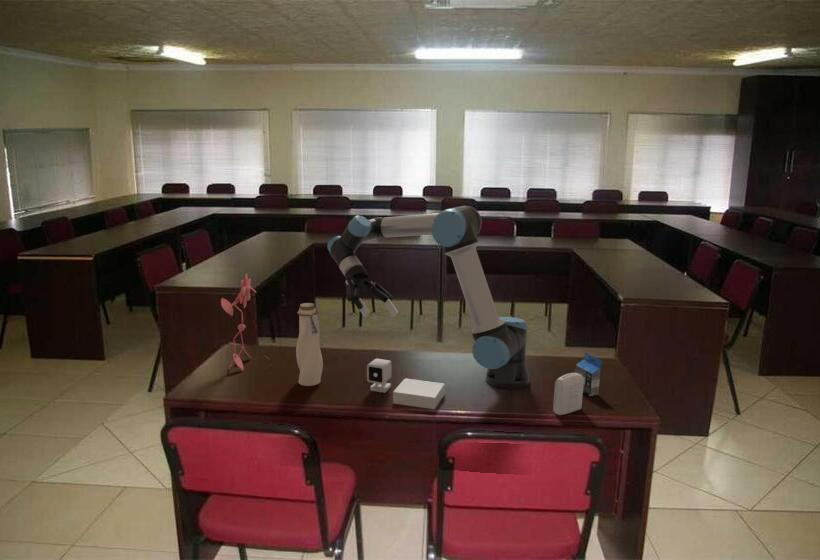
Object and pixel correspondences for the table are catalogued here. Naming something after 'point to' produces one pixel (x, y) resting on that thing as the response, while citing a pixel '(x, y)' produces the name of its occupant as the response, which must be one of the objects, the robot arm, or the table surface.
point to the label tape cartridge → (589, 374)
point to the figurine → (228, 308)
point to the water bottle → (309, 346)
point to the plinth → (419, 393)
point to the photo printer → (568, 393)
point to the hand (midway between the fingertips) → (381, 315)
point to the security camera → (379, 374)
